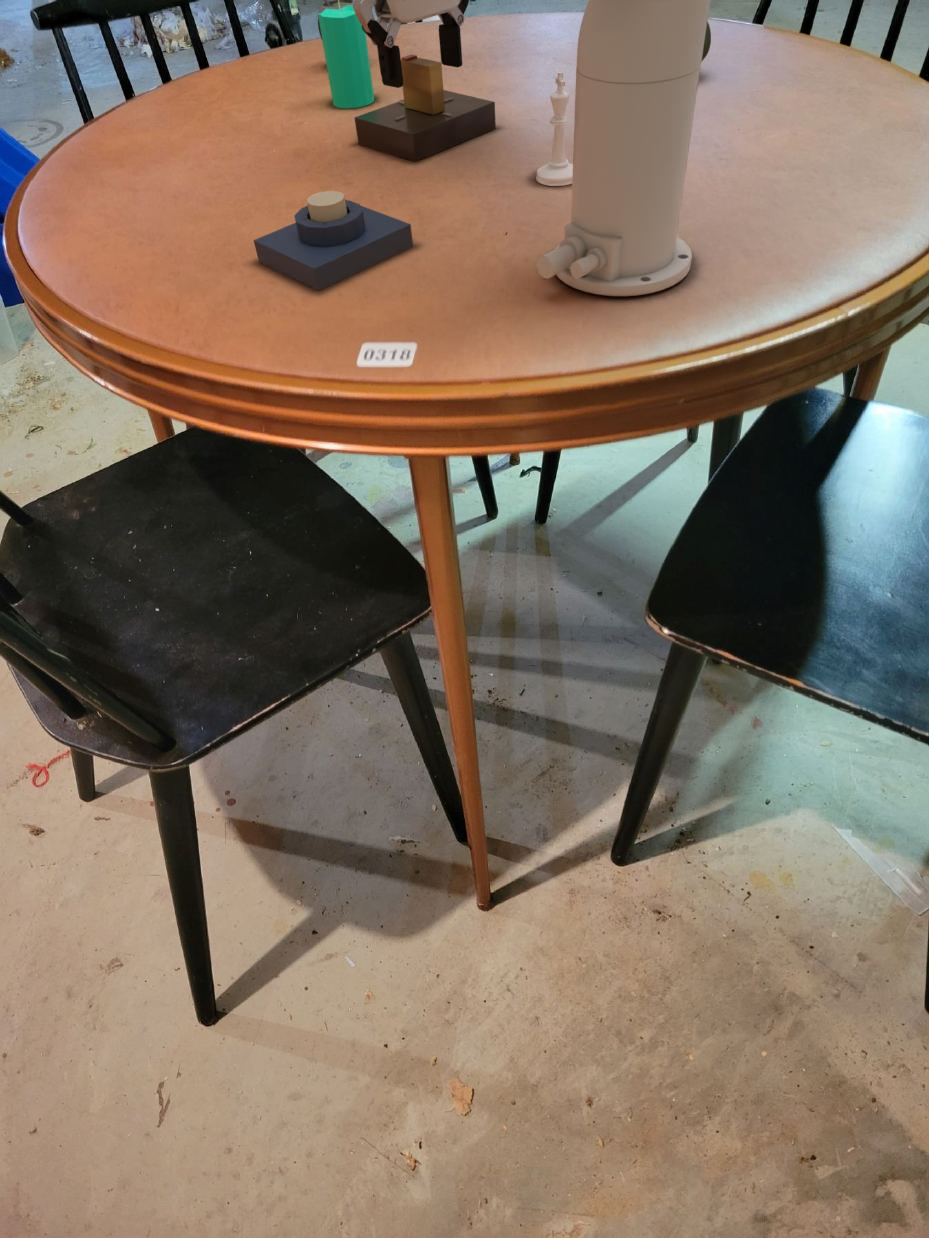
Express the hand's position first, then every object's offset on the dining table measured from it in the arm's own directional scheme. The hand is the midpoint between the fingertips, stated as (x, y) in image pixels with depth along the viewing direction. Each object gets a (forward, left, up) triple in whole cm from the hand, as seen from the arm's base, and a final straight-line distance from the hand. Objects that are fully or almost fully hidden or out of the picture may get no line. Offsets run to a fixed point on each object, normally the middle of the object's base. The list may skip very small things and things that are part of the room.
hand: (423, 75), depth 94 cm
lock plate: (0, 0, -7) cm, 7 cm away
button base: (-29, -18, -7) cm, 34 cm away
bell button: (-29, -18, -3) cm, 34 cm away
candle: (+4, +20, -7) cm, 22 cm away
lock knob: (0, 0, -4) cm, 4 cm away
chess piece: (-1, -23, -7) cm, 24 cm away
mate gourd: (+15, +36, -7) cm, 40 cm away
